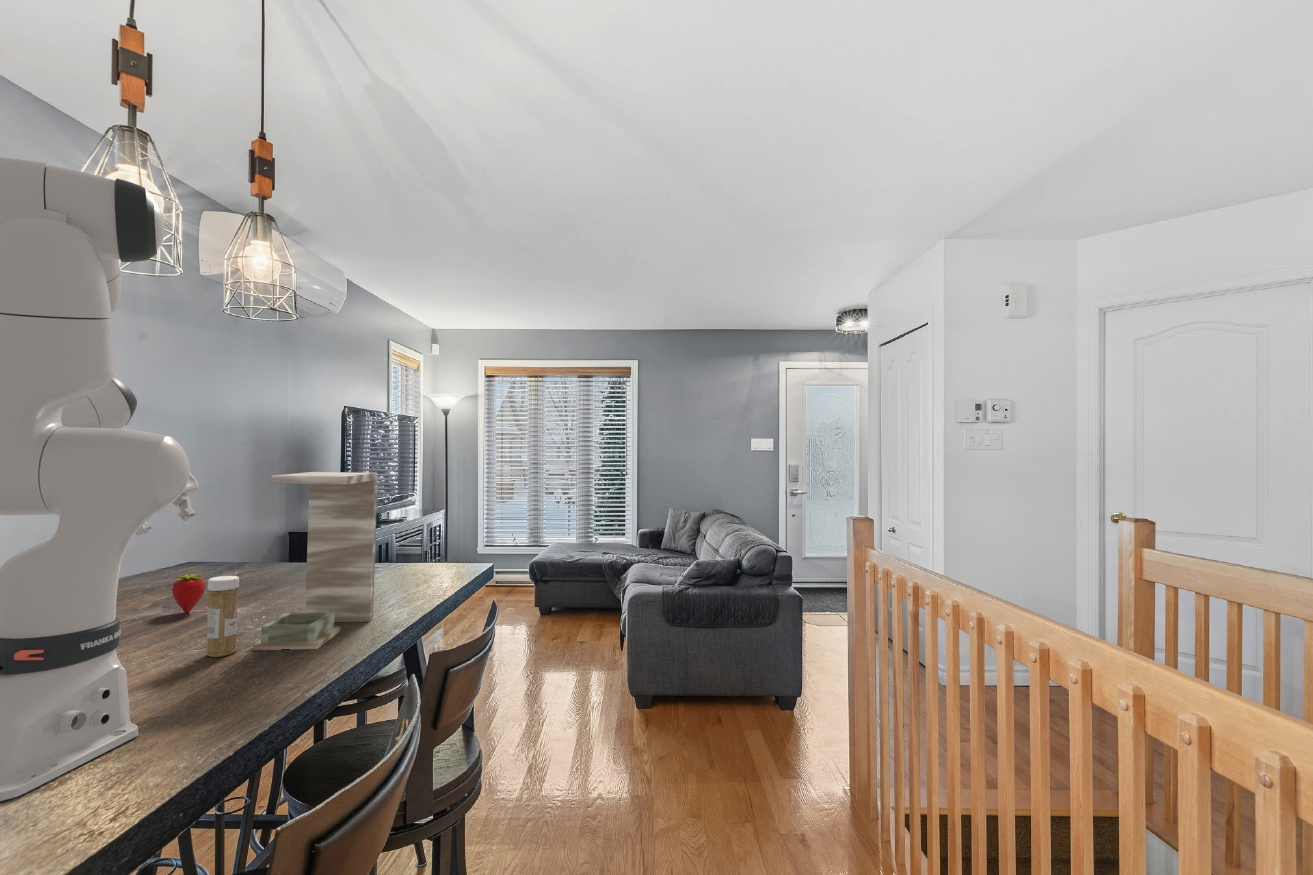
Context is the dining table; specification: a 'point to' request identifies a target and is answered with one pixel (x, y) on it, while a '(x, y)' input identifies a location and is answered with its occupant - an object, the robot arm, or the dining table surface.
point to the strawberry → (188, 591)
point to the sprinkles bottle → (222, 616)
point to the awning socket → (331, 560)
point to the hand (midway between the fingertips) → (169, 524)
